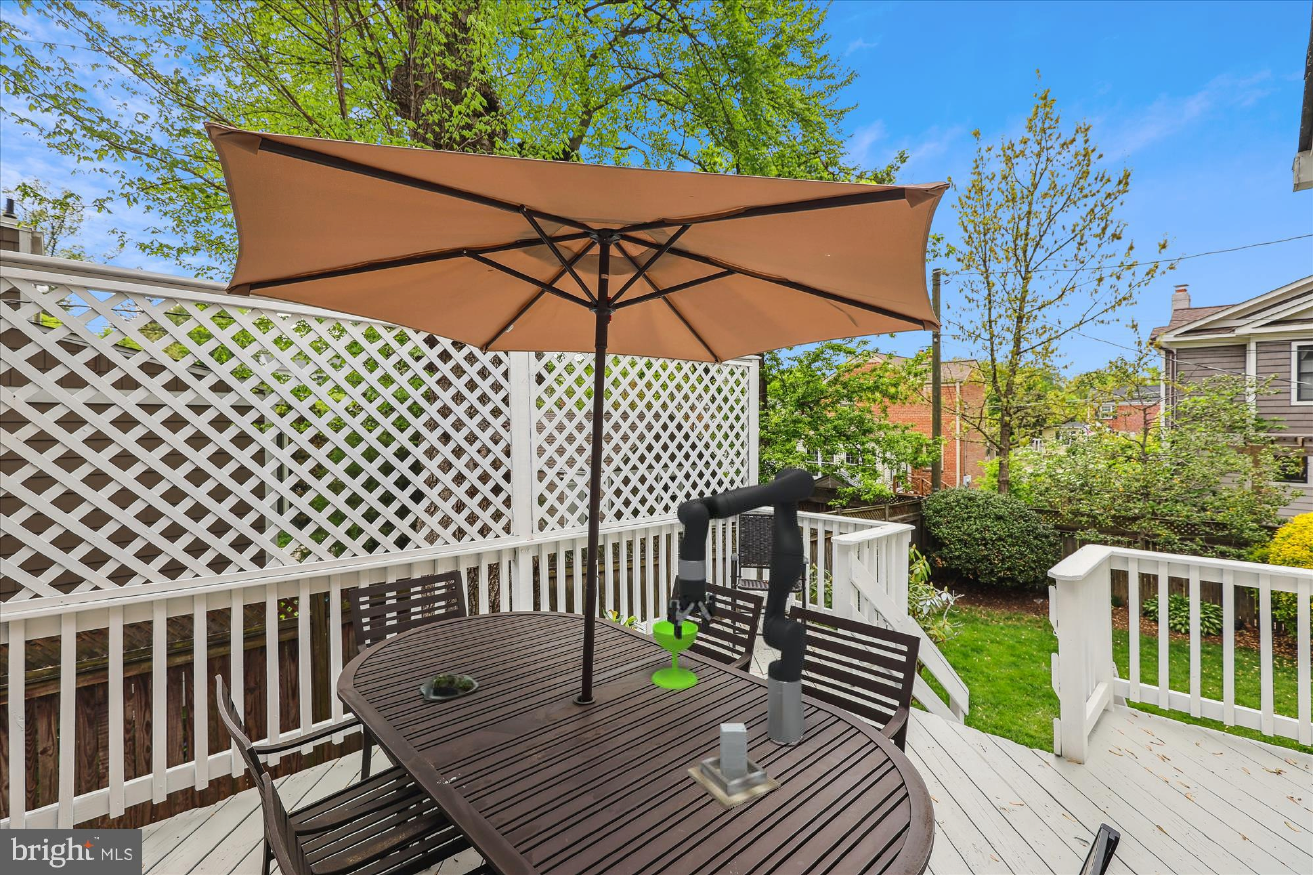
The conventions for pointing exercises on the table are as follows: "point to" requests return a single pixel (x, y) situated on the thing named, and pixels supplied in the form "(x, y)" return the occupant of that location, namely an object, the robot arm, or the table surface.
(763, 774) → the socket board
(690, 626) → the wineglass
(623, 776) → the table surface
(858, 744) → the table surface
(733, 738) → the skincare box
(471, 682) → the salad plate
